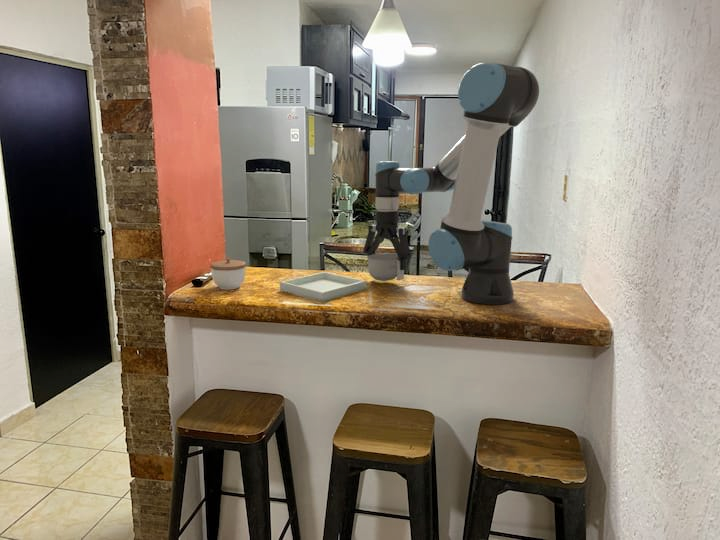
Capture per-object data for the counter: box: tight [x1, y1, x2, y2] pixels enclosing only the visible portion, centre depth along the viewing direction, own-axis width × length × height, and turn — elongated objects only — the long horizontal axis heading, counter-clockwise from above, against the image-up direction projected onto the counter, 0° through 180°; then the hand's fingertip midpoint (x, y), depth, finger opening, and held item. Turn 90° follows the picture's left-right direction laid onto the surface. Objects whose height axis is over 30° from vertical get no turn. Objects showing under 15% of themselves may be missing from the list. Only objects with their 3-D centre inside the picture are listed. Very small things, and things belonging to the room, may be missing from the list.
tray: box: [279, 271, 368, 303], centre depth 167 cm, size 19×20×3 cm
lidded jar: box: [210, 257, 247, 291], centre depth 168 cm, size 11×11×9 cm
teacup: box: [366, 252, 399, 282], centre depth 176 cm, size 14×11×8 cm
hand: (386, 277), depth 177 cm, fingers closed on teacup, 11 cm apart
